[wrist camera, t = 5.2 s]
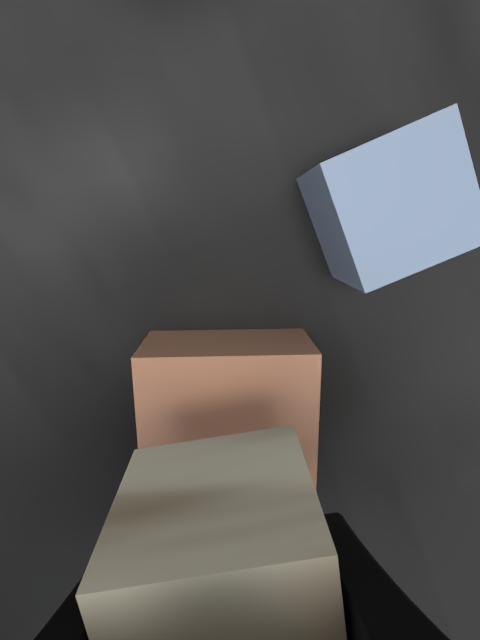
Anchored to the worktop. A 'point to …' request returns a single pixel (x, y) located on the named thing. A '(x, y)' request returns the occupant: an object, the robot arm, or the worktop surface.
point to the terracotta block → (227, 386)
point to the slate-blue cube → (396, 202)
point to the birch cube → (215, 547)
